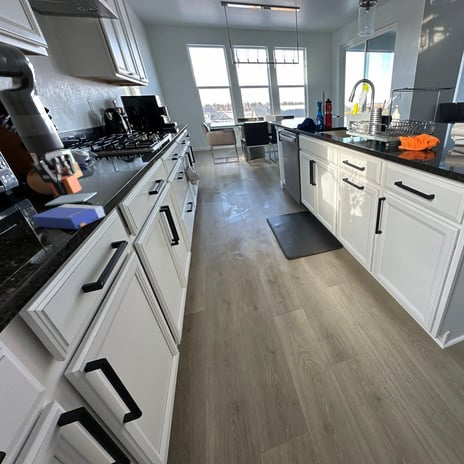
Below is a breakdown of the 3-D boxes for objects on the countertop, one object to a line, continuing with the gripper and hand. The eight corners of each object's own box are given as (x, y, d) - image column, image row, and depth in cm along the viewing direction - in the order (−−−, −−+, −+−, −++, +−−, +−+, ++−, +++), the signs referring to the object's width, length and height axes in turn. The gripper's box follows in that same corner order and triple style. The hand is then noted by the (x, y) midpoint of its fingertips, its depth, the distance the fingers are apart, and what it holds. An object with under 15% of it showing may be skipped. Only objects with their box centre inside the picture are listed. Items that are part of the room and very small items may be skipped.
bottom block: (59, 180, 99) (52, 166, 96) (67, 176, 104) (60, 163, 101) (75, 178, 100) (68, 164, 98) (83, 175, 105) (76, 161, 102)
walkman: (37, 226, 60) (77, 229, 58) (31, 216, 59) (71, 218, 57) (71, 213, 67) (107, 215, 65) (65, 203, 66) (103, 205, 63)
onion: (52, 205, 82) (23, 183, 74) (40, 193, 86) (10, 171, 77) (81, 188, 87) (56, 165, 79) (68, 177, 90) (43, 154, 82)
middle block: (53, 166, 97) (46, 152, 94) (61, 163, 101) (54, 150, 99) (68, 164, 98) (61, 151, 95) (75, 162, 102) (69, 149, 100)
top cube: (56, 195, 74) (47, 180, 72) (65, 190, 78) (57, 176, 76) (74, 193, 75) (66, 178, 73) (82, 189, 79) (75, 174, 77)
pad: (45, 205, 73) (44, 204, 73) (61, 197, 80) (61, 195, 80) (84, 201, 75) (83, 200, 75) (97, 193, 82) (96, 192, 82)
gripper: (39, 131, 74) (68, 186, 82) (0, 136, 62) (38, 201, 70) (69, 129, 75) (94, 184, 84) (36, 134, 63) (69, 198, 71)
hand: (69, 191), depth 77 cm, fingers closed on top cube, 4 cm apart
